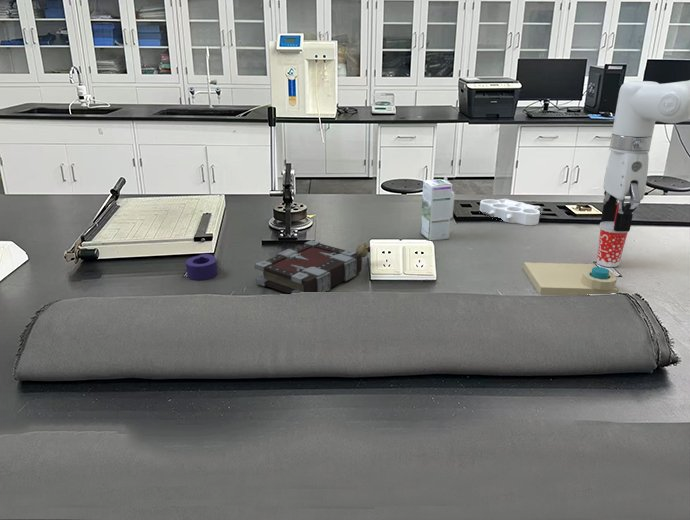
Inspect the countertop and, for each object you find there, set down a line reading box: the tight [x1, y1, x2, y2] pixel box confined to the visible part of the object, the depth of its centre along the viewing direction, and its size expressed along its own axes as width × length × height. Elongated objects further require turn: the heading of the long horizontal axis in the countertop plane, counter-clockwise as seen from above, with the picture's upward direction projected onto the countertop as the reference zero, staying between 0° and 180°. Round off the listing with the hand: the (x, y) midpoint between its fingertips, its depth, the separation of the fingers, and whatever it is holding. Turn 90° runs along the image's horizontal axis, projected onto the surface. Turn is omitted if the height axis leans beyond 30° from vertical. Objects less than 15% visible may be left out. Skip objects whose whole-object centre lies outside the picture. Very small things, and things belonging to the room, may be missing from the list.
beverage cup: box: [596, 202, 630, 268], centre depth 118 cm, size 6×6×14 cm
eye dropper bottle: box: [443, 176, 456, 220], centre depth 150 cm, size 4×6×12 cm
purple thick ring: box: [185, 253, 218, 281], centre depth 116 cm, size 12×6×3 cm, turn 9°
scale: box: [522, 261, 619, 296], centre depth 110 cm, size 15×14×4 cm
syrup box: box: [420, 178, 453, 241], centre depth 135 cm, size 6×6×14 cm
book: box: [254, 239, 371, 294], centre depth 114 cm, size 15×25×5 cm, turn 143°
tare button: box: [591, 266, 611, 279], centre depth 106 cm, size 3×3×2 cm
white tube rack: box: [479, 198, 544, 227], centre depth 153 cm, size 3×18×15 cm
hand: (614, 225), depth 117 cm, fingers closed on beverage cup, 6 cm apart
